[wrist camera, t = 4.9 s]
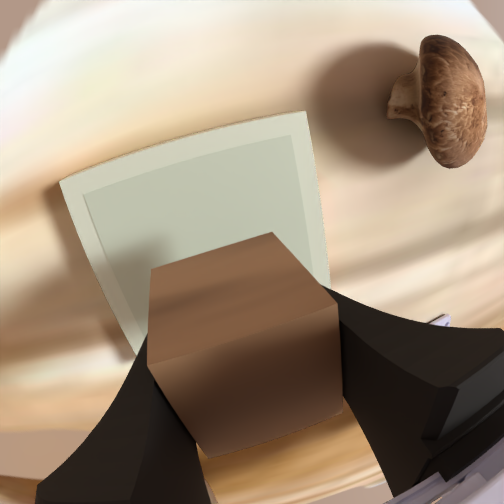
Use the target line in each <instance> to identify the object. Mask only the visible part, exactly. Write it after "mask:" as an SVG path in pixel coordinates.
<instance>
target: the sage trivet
mask: <svg viewBox="0 0 504 504" xmlns="http://www.w3.org/2000/svg"><path fill="white" fill-rule="evenodd" d="M59 184H60V187H61V190H62V193H63V195H64V198H65V201H66V204H67V207H68V210H69V212H70V215H71V218H72V220H73V223H74V226H75V228H76V231H77V233H78V236H79V238H80V241H81V243H82V246H83V248H84V250H85V253H86V255H87V257H88V260H89V262H90V264H91V267H92V269H93V271H94V273H95V276H96V278H97V280H98V282H99V284H100V287H101V289H102V291H103V293H104V295H105V297H106V299H107V301H108V303H109V305H110V307H111V309H112V311H113V313H114V315H115V317H116V319H117V321H118V323H119V325H120V327H121V329H122V331H123V332H124V334H125V336H126V338H127V340H128V342H129V344H130V345H131V347H132V349H133V351H134V353H135V354H136V356H137V354H138V352H139V350H140V348H141V345H142V343H143V341H144V339H145V337H146V335H147V333H148V310H149V291H150V276H151V269H153V268H156V267H159V266H162V265H166V264H169V263H172V262H175V261H178V260H181V259H185V258H188V257H191V256H194V255H198V254H201V253H204V252H207V251H210V250H214V249H217V248H220V247H223V246H227V245H230V244H233V243H236V242H240V241H243V240H246V239H249V238H253V237H256V236H259V235H263V234H266V233H269V232H273V233H274V234H275V235H276V236H277V237H278V239H279V240H280V241H281V242H282V243H283V244H284V245H285V246H286V247H287V248H288V249H289V250H290V252H291V253H292V254H293V255H294V256H295V257H296V258H297V259H298V260H299V261H300V262H301V264H302V265H303V266H304V267H305V268H306V269H307V270H308V271H309V272H310V273H311V275H312V276H313V277H314V278H315V279H316V280H317V281H318V282H319V283H320V284H321V285H323V286H325V287H327V288H329V289H331V284H330V274H329V264H328V255H327V246H326V238H325V230H324V222H323V214H322V207H321V200H320V193H319V186H318V179H317V173H316V167H315V160H314V154H313V148H312V143H311V137H310V131H309V126H308V120H307V115H306V111H291V112H286V113H280V114H275V115H270V116H265V117H260V118H255V119H251V120H246V121H242V122H237V123H233V124H229V125H224V126H220V127H216V128H212V129H208V130H204V131H201V132H197V133H193V134H190V135H186V136H182V137H179V138H175V139H172V140H169V141H165V142H162V143H159V144H155V145H152V146H149V147H146V148H143V149H140V150H137V151H134V152H131V153H128V154H125V155H122V156H119V157H116V158H113V159H110V160H108V161H105V162H102V163H99V164H97V165H94V166H91V167H89V168H86V169H84V170H81V171H79V172H76V173H74V174H71V175H69V176H67V177H66V178H64V179H62V180H61V181H59Z"/></svg>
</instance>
